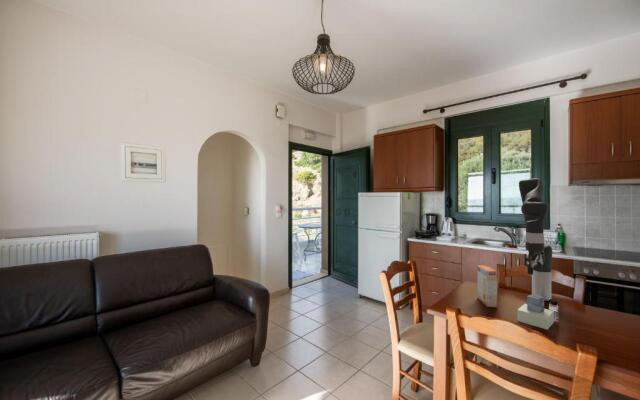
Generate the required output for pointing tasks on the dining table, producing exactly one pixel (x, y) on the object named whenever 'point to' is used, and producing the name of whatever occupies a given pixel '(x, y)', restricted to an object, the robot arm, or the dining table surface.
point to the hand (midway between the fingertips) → (534, 273)
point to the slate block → (535, 303)
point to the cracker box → (487, 286)
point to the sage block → (536, 317)
